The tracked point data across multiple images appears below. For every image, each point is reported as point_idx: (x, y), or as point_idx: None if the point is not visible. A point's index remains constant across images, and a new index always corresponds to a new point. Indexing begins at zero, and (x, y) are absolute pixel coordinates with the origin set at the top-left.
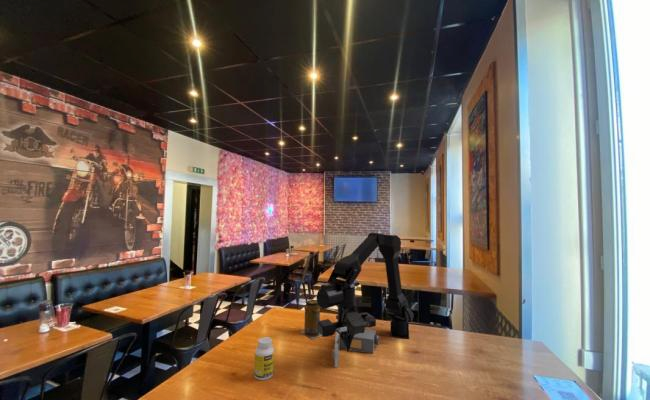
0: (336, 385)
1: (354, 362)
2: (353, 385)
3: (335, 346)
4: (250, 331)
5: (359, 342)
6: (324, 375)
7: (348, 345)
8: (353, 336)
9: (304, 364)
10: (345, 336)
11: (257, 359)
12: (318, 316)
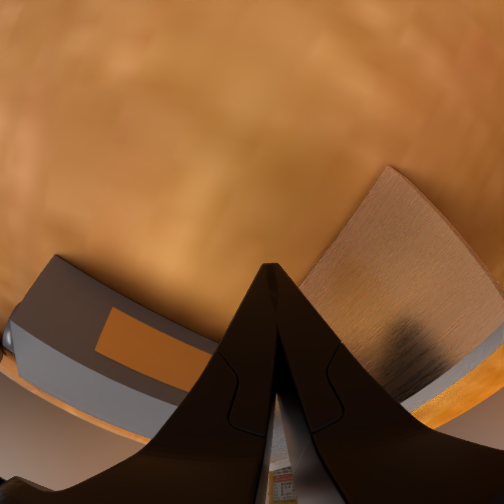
0: (474, 4)
1: (211, 188)
2: None
3: (499, 290)
4: (439, 422)
5: (111, 344)
6: (491, 131)
7: (274, 308)
8: (175, 422)
9: (491, 270)
10: (398, 442)
11: None
12: (284, 487)
